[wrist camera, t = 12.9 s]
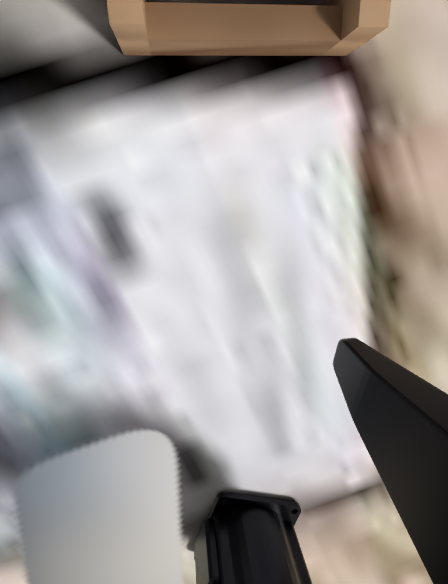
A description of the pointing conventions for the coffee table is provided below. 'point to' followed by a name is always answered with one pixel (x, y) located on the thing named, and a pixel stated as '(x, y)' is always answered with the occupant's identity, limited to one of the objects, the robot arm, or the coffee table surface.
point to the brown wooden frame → (246, 27)
